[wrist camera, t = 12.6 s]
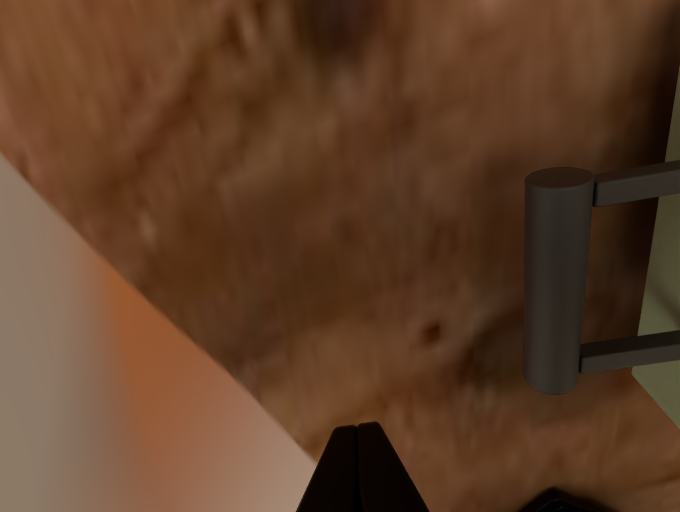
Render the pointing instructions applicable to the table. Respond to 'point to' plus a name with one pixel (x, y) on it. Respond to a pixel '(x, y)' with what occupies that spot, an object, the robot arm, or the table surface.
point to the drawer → (571, 268)
